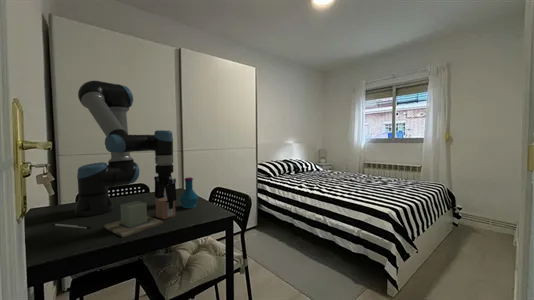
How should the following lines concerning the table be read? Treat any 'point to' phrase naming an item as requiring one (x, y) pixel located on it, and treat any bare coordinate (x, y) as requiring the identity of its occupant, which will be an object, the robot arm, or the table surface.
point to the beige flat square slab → (126, 231)
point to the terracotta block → (163, 208)
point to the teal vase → (189, 195)
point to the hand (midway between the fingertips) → (165, 214)
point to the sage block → (133, 213)
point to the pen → (72, 226)
